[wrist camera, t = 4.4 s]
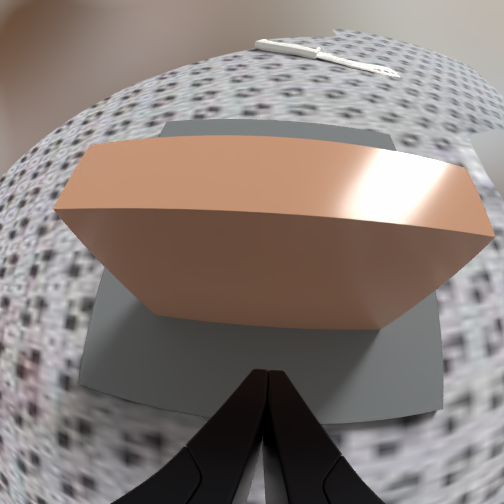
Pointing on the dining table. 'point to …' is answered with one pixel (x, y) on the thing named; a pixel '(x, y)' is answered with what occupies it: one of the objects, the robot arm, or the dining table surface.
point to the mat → (264, 336)
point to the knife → (319, 56)
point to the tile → (274, 227)
